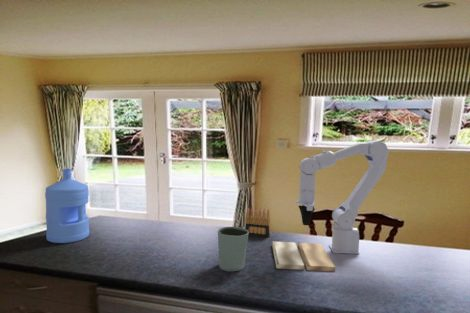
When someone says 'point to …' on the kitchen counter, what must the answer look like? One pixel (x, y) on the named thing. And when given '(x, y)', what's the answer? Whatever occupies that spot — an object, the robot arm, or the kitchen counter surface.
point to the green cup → (232, 248)
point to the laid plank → (315, 257)
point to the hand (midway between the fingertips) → (305, 224)
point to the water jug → (66, 210)
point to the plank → (287, 255)
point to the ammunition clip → (258, 223)
